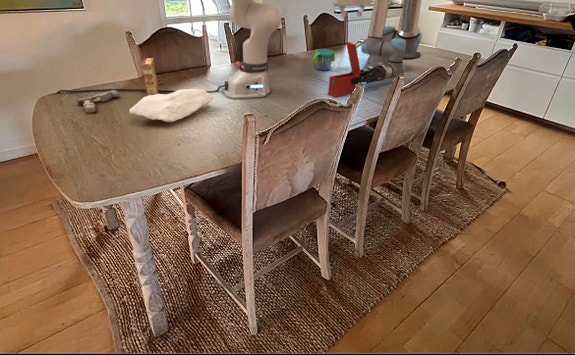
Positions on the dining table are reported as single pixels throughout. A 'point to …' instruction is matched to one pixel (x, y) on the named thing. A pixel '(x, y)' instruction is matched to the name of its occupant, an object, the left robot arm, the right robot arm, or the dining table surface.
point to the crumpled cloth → (171, 104)
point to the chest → (341, 84)
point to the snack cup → (323, 58)
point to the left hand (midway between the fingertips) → (351, 16)
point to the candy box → (150, 76)
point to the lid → (354, 55)
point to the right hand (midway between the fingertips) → (347, 79)
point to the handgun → (95, 100)
